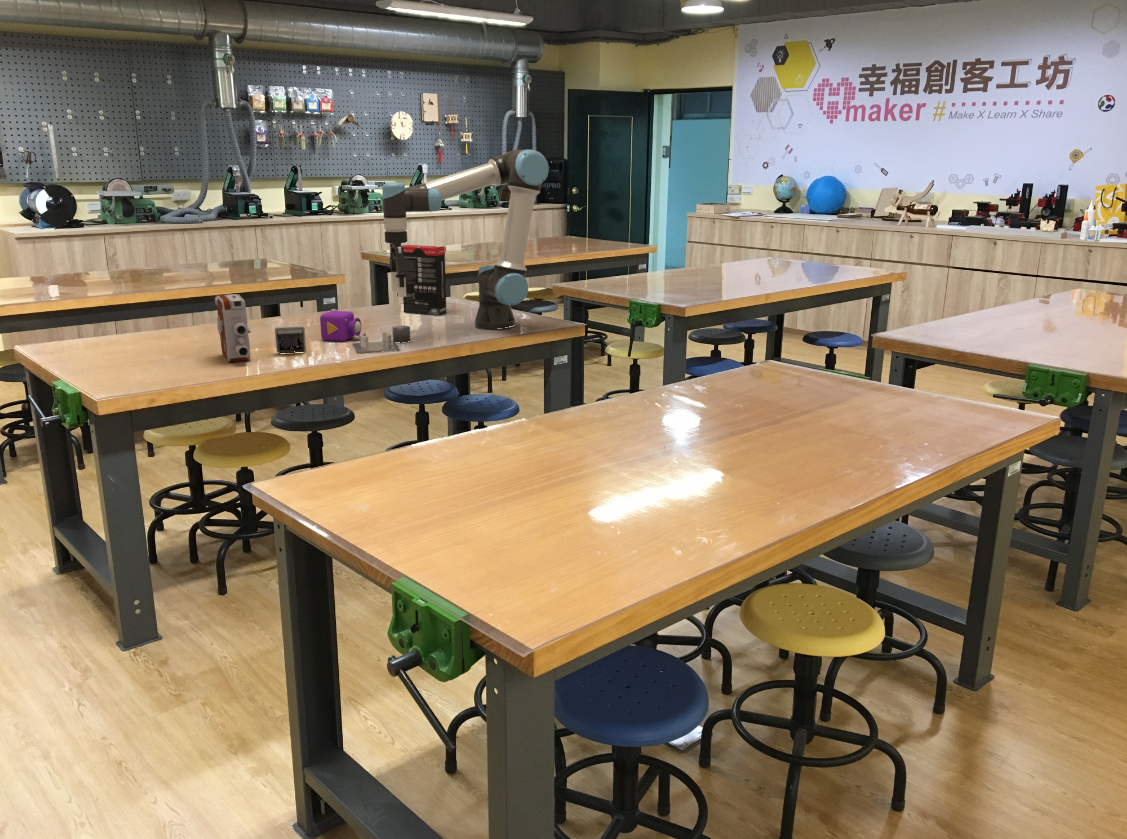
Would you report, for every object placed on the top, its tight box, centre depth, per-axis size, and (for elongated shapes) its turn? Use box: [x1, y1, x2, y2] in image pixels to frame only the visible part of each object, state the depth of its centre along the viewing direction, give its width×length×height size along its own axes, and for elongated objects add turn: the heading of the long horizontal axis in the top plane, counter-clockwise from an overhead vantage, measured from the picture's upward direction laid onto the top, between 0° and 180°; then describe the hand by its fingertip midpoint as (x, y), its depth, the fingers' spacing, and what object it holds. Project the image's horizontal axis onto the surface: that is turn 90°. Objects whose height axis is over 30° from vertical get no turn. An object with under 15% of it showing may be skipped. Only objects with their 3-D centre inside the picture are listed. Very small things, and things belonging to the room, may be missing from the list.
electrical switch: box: [274, 325, 307, 355], centre depth 294 cm, size 9×5×9 cm, turn 107°
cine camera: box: [214, 293, 252, 363], centre depth 284 cm, size 9×19×20 cm, turn 27°
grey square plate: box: [351, 331, 401, 354], centre depth 303 cm, size 14×14×5 cm
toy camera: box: [319, 308, 362, 342], centre depth 316 cm, size 11×14×10 cm
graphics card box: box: [401, 244, 447, 316], centre depth 363 cm, size 17×7×27 cm, turn 69°
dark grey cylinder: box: [391, 325, 411, 344], centre depth 313 cm, size 6×6×5 cm
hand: (398, 293), depth 309 cm, fingers open, 13 cm apart
